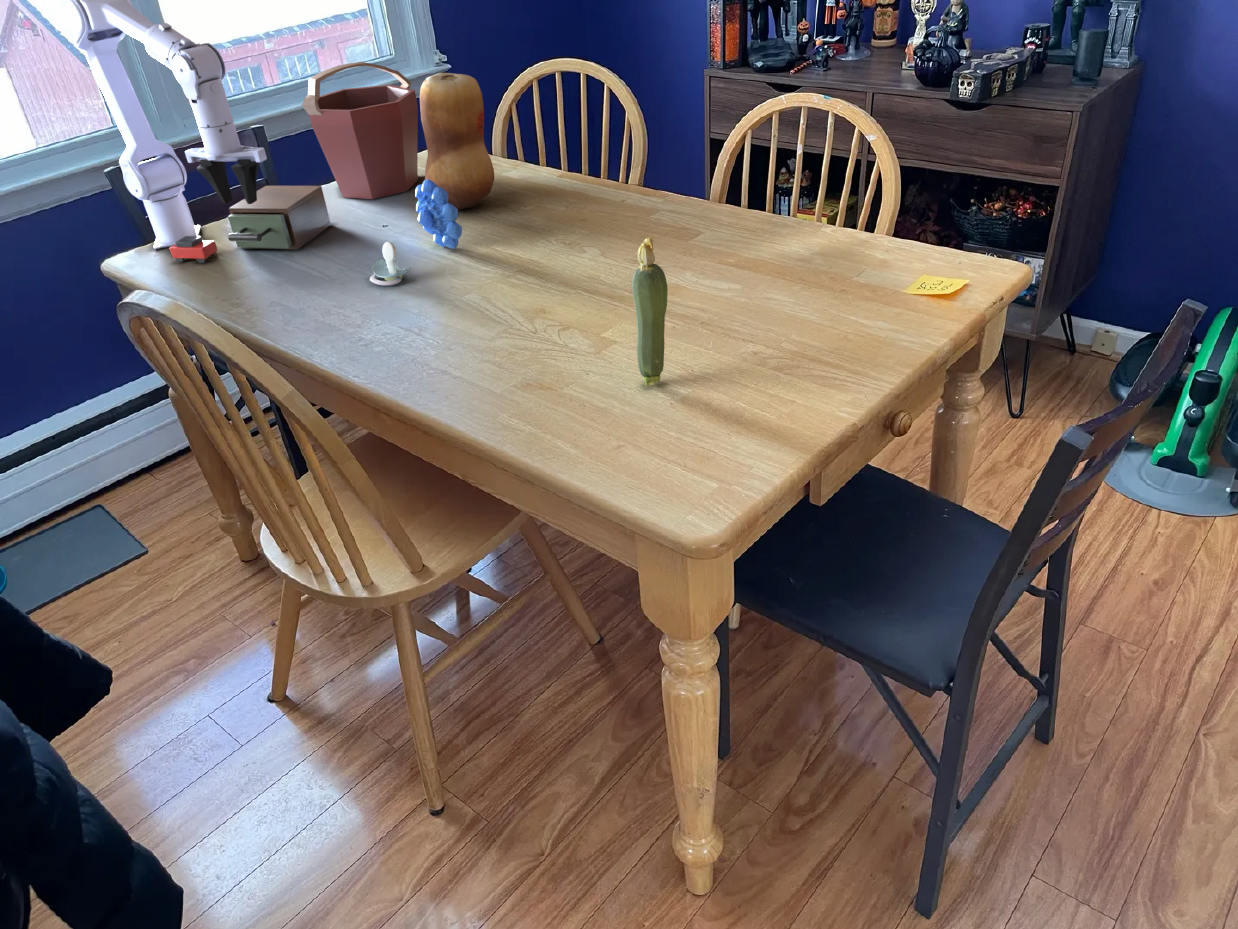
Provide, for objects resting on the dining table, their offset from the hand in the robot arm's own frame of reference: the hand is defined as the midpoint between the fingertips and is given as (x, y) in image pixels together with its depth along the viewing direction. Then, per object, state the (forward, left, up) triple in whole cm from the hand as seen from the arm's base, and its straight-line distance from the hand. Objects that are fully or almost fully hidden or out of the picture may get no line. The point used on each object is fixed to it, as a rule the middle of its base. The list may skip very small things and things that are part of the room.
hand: (240, 202), depth 165 cm
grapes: (+12, +32, -11) cm, 36 cm away
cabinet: (-9, +5, -10) cm, 15 cm away
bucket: (-33, +24, -11) cm, 43 cm away
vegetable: (+75, +52, -11) cm, 92 cm away
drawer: (-5, +3, -10) cm, 11 cm away
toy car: (-5, -11, -10) cm, 16 cm away
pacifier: (+23, +22, -11) cm, 34 cm away
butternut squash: (-9, +40, -11) cm, 43 cm away
